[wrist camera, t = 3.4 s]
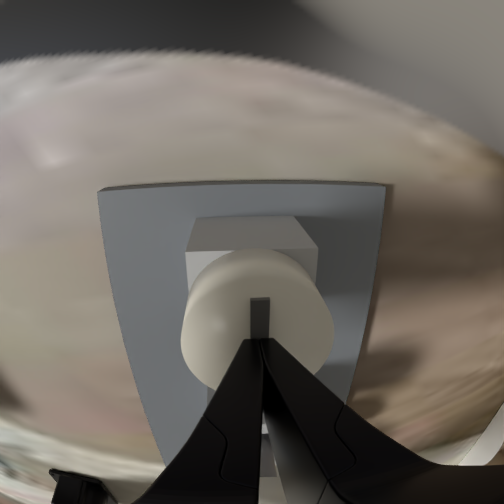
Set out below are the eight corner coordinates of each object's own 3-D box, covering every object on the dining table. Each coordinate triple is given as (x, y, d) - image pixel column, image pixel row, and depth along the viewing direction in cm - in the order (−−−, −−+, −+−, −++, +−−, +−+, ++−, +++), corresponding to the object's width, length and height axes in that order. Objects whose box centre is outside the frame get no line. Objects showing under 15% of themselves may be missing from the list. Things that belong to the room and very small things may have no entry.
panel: (320, 465, 23) (332, 509, 19) (173, 473, 22) (170, 519, 18) (376, 183, 15) (435, 208, 10) (104, 187, 14) (54, 215, 9)
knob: (293, 308, 15) (325, 394, 10) (198, 312, 15) (189, 403, 9) (298, 217, 13) (345, 275, 8) (192, 219, 13) (171, 281, 8)
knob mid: (290, 457, 15) (307, 541, 10) (212, 462, 15) (214, 548, 10) (298, 411, 14) (323, 513, 8) (204, 417, 13) (202, 523, 8)
